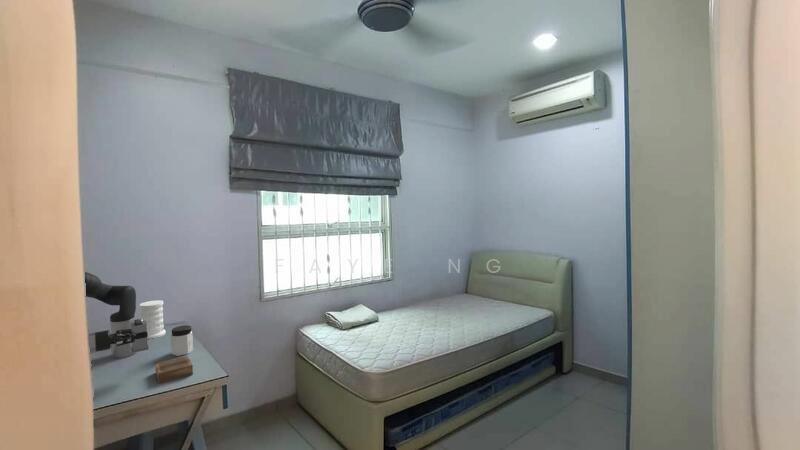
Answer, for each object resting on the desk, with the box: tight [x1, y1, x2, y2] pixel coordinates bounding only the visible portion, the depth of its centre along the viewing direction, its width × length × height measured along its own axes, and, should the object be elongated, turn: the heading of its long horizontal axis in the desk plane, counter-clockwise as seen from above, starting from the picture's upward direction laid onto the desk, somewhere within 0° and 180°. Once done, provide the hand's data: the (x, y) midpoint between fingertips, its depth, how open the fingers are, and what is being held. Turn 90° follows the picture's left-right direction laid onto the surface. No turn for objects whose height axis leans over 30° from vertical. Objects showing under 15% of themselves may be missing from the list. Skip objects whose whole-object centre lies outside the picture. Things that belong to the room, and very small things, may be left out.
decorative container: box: [139, 299, 166, 340], centre depth 196 cm, size 12×12×18 cm
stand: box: [155, 355, 194, 384], centre depth 152 cm, size 12×12×4 cm
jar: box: [170, 324, 194, 357], centre depth 173 cm, size 9×8×12 cm
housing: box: [131, 318, 149, 354], centre depth 150 cm, size 6×6×12 cm
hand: (146, 332), depth 152 cm, fingers closed on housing, 5 cm apart
